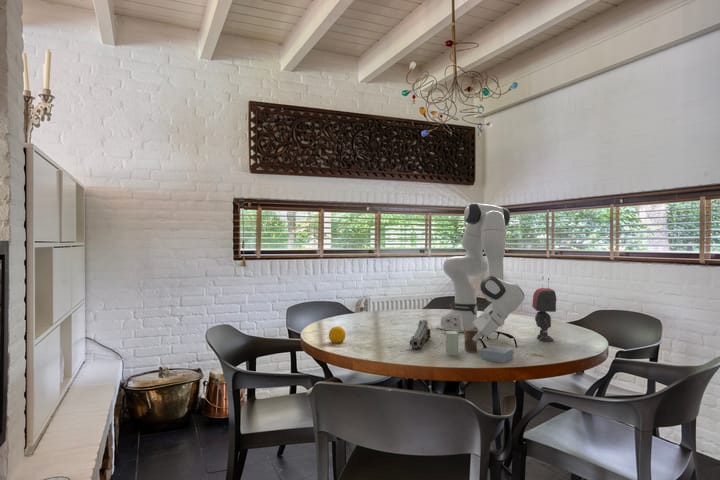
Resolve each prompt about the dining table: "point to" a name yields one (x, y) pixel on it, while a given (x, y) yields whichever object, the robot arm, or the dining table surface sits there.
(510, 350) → the slate pedestal
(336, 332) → the orange
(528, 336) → the dining table surface
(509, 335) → the glasses
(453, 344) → the sage block
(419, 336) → the toy
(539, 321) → the toy robot
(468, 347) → the walnut block
